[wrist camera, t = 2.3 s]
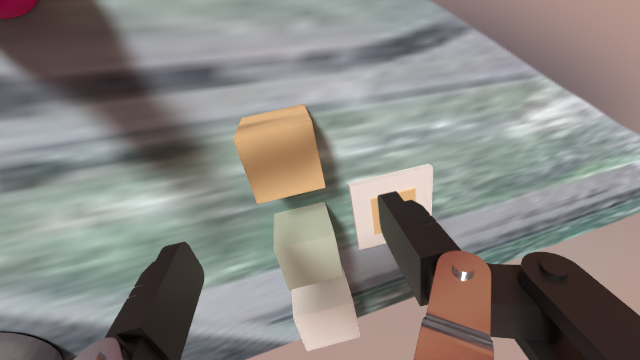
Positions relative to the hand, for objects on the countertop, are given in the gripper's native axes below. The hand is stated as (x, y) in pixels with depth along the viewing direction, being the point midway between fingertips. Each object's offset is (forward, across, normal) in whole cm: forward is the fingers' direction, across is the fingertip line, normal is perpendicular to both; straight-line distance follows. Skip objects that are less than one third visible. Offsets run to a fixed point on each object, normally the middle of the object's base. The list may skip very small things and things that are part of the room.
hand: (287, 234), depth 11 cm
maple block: (+12, 0, 0) cm, 12 cm away
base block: (+12, 0, +19) cm, 23 cm away
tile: (+12, -9, +10) cm, 18 cm away
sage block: (+12, 0, +10) cm, 16 cm away
